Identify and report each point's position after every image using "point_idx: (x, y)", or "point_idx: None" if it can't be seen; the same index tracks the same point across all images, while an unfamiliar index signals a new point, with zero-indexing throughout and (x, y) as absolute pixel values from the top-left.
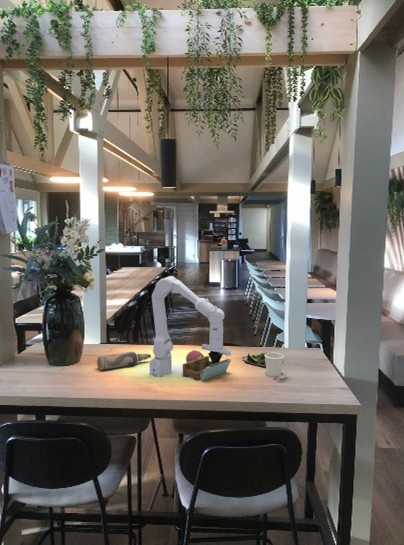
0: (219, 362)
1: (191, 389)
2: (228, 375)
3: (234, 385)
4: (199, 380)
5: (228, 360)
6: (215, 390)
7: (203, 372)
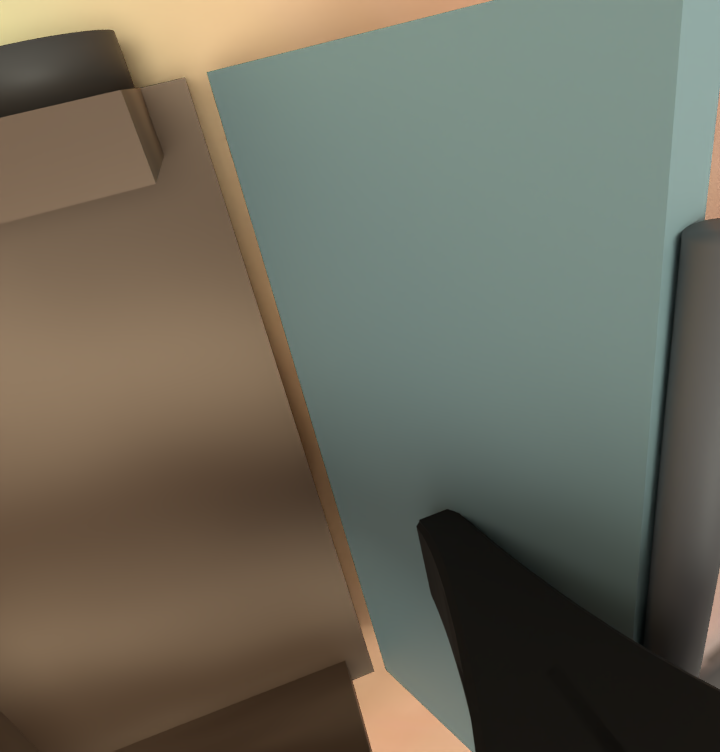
0: (696, 671)
1: (427, 722)
2: (306, 32)
3: None
4: (364, 674)
5: (704, 201)
6: None
7: (39, 532)
